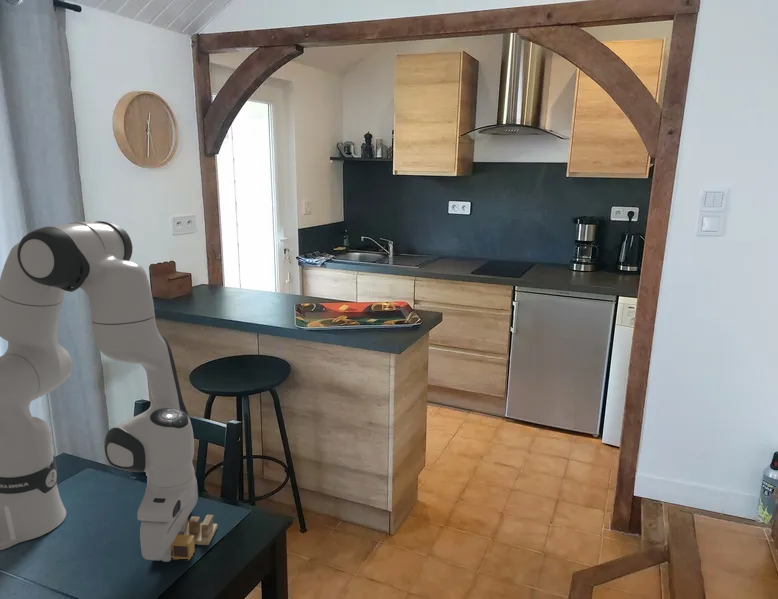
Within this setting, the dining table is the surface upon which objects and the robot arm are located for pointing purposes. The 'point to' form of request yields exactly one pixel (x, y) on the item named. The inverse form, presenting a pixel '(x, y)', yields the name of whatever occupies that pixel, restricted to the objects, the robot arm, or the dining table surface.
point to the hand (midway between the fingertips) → (173, 548)
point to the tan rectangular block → (183, 547)
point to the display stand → (201, 529)
